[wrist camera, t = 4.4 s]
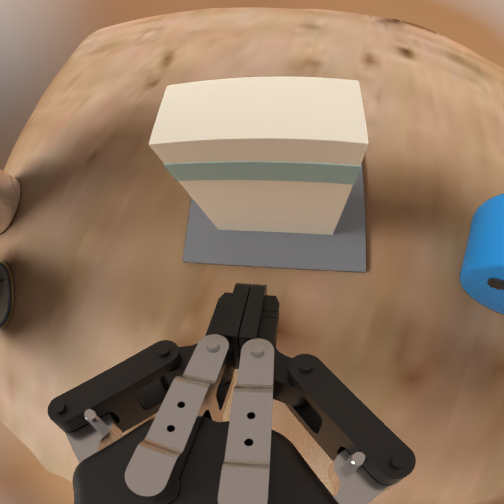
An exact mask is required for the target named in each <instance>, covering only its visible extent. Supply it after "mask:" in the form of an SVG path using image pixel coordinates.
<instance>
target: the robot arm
mask: <svg viewBox="0 0 504 504" xmlns="http://www.w3.org/2000/svg"><path fill="white" fill-rule="evenodd" d="M20 192H21V188H20V183H19V181H18V180H17V179H15V178H14V177H12V176H10V175H9V174H7V173H5V172H4V171H2V170H1V169H0V233H2V232H3V231H5V229H6V228H7V227H8V226H9V224H10V223H11V221H12V219H13V217H14V215H15V213H16V210H17V207H18V204H19V200H20ZM278 325H279V302H278V300H277V297H276V296H268V295H267V287H266V285H255V284H252V285H251V284H241V283H236V285H235V288H234V291H233V293H224V294H223V295H222V296H221V297H220V298H219V300H218V302H217V305H216V308H215V311H214V314H213V316H212V319H211V322H210V325H209V327H208V330H207V333H206V336H205V337H203V338H202V339H201V340H200V341H199V342H198V343H197V344H195V345H192V346H185V347H178V346H177V345H176V344H175V343H174V342H172V341H168V340H164V341H159V342H157V343H155V344H153V345H151V346H150V347H148V348H146V349H144V350H143V351H141V352H139V353H137V354H135V355H134V356H132V357H130V358H128V359H126V360H125V361H123V362H121V363H119V364H117V365H116V366H114V367H112V368H110V369H108V370H107V371H105V372H103V373H101V374H99V375H97V376H96V377H94V378H92V379H90V380H88V381H86V382H84V383H83V384H81V385H79V386H77V387H75V388H73V389H71V390H69V391H67V392H66V393H64V394H62V395H60V396H58V397H56V398H54V399H53V400H52V401H51V403H50V404H49V407H48V415H49V417H50V419H51V420H52V421H53V422H54V423H55V424H57V425H58V426H59V427H60V428H61V429H62V430H63V431H64V432H65V433H66V435H67V438H68V440H69V442H70V444H71V446H72V449H73V451H74V453H75V455H76V457H77V459H78V461H79V465H78V466H77V467H76V469H75V472H74V475H73V489H74V504H368V503H369V502H371V501H372V500H373V499H374V498H376V497H377V496H378V495H379V494H380V493H382V492H383V491H385V490H387V489H389V488H391V487H392V486H394V485H395V484H397V483H398V482H400V481H401V480H402V479H403V478H404V477H406V476H407V475H409V474H410V473H411V472H412V470H413V469H414V466H415V462H416V460H415V455H414V453H413V451H412V450H411V449H410V448H409V447H408V446H407V445H406V444H405V443H403V442H402V441H401V440H400V439H399V438H398V437H397V436H396V435H395V434H394V433H393V432H392V431H391V430H390V429H389V428H388V427H387V426H386V425H385V424H384V423H383V422H382V421H381V420H380V419H379V418H378V417H376V416H375V415H374V414H373V413H372V412H371V411H370V410H369V409H368V408H367V407H366V406H365V405H364V404H363V403H362V402H361V401H360V400H359V399H358V398H357V397H356V396H355V395H354V394H353V393H352V392H351V391H350V390H349V389H348V388H347V387H346V386H345V385H344V384H343V383H342V382H341V381H340V380H339V379H338V378H337V377H336V376H335V375H334V374H333V373H332V372H331V371H330V370H329V369H328V368H327V367H326V366H325V365H324V364H323V363H322V362H321V361H320V360H319V359H318V358H317V357H315V356H313V355H310V354H301V355H298V356H296V357H294V358H290V357H287V356H285V355H283V354H281V353H280V352H279V351H278V350H277V349H276V342H277V333H278ZM234 369H239V371H238V379H237V386H235V388H234V393H233V400H232V407H231V415H230V421H228V422H222V419H223V413H224V410H225V407H226V404H227V401H228V398H229V395H230V392H231V389H232V386H233V383H234V377H233V373H234ZM273 399H275V400H278V401H281V402H283V403H286V405H287V407H288V408H289V409H290V411H291V412H292V413H293V414H294V416H295V417H296V418H297V419H298V420H299V422H300V423H301V424H302V425H303V426H304V428H305V429H306V430H307V431H308V432H309V434H310V435H311V436H312V437H313V438H314V439H315V441H316V442H317V443H318V444H319V445H320V446H321V448H322V449H323V450H324V451H325V452H326V453H327V454H328V456H329V457H330V458H331V459H332V460H333V463H332V464H331V466H330V468H329V471H328V475H329V479H330V480H331V482H332V484H333V487H334V492H333V495H332V494H331V493H330V492H329V491H328V489H327V488H326V487H325V486H324V484H323V483H322V482H321V481H320V479H319V478H318V477H317V475H316V474H315V473H314V472H313V470H312V469H311V468H310V466H309V465H308V464H307V462H306V461H305V460H304V458H303V457H302V456H301V454H300V453H299V452H298V450H297V449H296V448H295V446H294V445H293V444H292V443H291V442H290V441H289V440H288V439H287V438H286V437H284V436H283V435H281V434H280V433H278V432H276V431H274V430H271V429H272V405H273ZM157 412H158V413H157ZM155 413H157V415H156V417H155V418H152V419H150V420H148V421H147V422H145V423H144V424H142V425H141V426H139V427H137V428H136V429H134V430H133V431H131V432H129V433H128V434H126V435H125V436H123V437H122V433H123V432H125V431H126V430H128V429H130V428H131V427H133V426H135V425H137V424H138V423H140V422H142V421H143V420H145V419H147V418H148V417H150V416H152V415H153V414H155Z"/></svg>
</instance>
